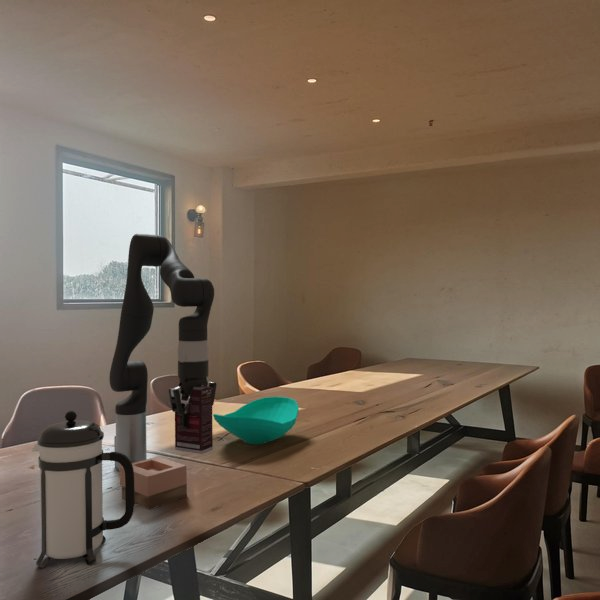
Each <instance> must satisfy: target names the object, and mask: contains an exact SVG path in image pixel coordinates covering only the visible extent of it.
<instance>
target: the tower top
mask: <svg viewBox="0 0 600 600" xmlns="http://www.w3.org/2000/svg"><path fill="white" fill-rule="evenodd" d="M132 466H133V470H134V491H135V492H138V493H140V494H143V495H145V496H151V495H154V494H157V493H161V492H164V491H167V490H170V489H173V488H176V487H179V486H182V485H186V484H187V483H188V481H187V478H188V477H187V475H188V473H187V465H186V464H183V463H179V462H177V461H173V460H171V459H167V458H164V457H161V456H154V457H151V458H148V459H147V458H146V460H143V461H139V462H135V463H132ZM119 486H121V487H122V486H123V487H125V471H124V468H123V466H120V470H119Z"/></svg>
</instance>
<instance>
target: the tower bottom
mask: <svg viewBox="0 0 600 600" xmlns="http://www.w3.org/2000/svg"><path fill="white" fill-rule="evenodd" d="M182 497H183V498H185V497H188V487H187V484H186V485H182V486H179V487H176V488H173V489H170V490H167V491H164V492H161V493H157V494H154V495H151V496H145V495H143V494H140V493H138V492H135V491H134V498H135V499H134V505H137V506H138V507H142V508H145V509H147V510H152V509H156V508H158V507H161V506H163V505H166V504H168V503H171V502H175V501H176V499H177V500H180V499H183V498H182ZM179 498H180V499H179ZM121 500H123V501H125V487H123V486H121ZM174 500H175V501H174Z"/></svg>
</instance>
